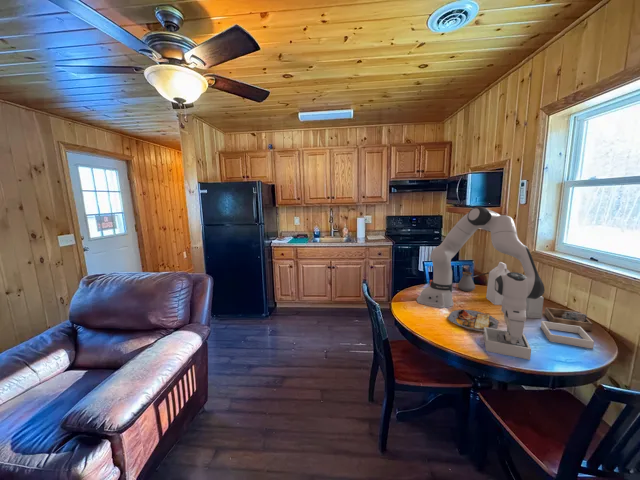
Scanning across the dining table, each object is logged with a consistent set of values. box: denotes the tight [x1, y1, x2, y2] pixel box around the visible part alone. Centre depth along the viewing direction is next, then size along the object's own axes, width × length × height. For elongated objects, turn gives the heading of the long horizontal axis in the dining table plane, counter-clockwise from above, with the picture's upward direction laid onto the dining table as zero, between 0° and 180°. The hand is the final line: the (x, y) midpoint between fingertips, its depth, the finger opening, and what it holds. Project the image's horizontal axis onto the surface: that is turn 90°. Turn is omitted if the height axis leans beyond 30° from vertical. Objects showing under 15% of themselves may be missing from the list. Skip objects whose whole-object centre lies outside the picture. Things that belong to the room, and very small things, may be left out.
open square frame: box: [540, 320, 595, 349], centre depth 127 cm, size 15×15×4 cm
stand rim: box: [544, 307, 593, 332], centre depth 142 cm, size 15×15×4 cm
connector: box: [505, 332, 518, 343], centre depth 119 cm, size 4×4×8 cm
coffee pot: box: [457, 271, 489, 292], centre depth 192 cm, size 21×12×15 cm, turn 65°
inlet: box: [497, 332, 525, 347], centre depth 120 cm, size 9×9×4 cm
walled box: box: [483, 327, 532, 361], centre depth 121 cm, size 16×14×5 cm
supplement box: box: [526, 295, 545, 319], centre depth 150 cm, size 7×7×13 cm
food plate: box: [447, 308, 500, 332], centre depth 146 cm, size 25×23×4 cm
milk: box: [485, 261, 511, 306], centre depth 170 cm, size 12×12×26 cm
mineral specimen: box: [561, 311, 588, 322], centre depth 140 cm, size 10×8×10 cm
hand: (511, 337), depth 119 cm, fingers open, 8 cm apart
